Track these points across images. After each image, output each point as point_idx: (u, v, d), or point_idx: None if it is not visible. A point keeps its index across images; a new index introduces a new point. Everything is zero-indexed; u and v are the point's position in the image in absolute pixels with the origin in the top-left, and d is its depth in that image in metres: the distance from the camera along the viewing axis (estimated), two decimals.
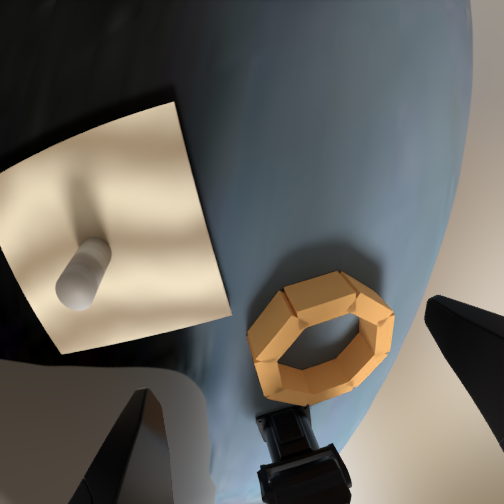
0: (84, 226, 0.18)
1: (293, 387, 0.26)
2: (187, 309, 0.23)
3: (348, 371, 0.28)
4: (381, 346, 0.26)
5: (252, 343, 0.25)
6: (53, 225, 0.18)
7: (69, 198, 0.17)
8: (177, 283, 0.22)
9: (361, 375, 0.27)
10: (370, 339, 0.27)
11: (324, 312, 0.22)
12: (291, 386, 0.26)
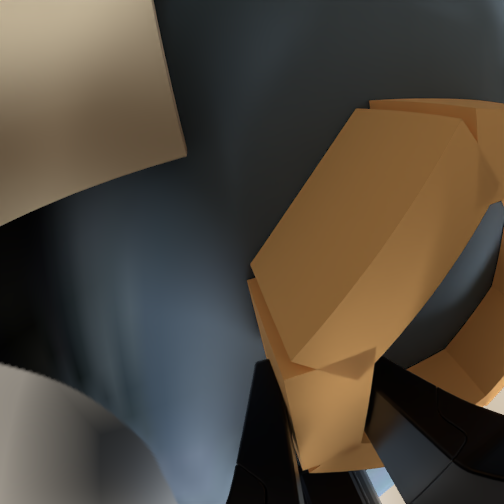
0: None
1: None
2: (20, 132, 0.04)
3: (482, 373, 0.10)
4: None
5: (271, 295, 0.06)
6: None
7: None
8: (5, 34, 0.03)
9: None
10: None
11: None
12: None
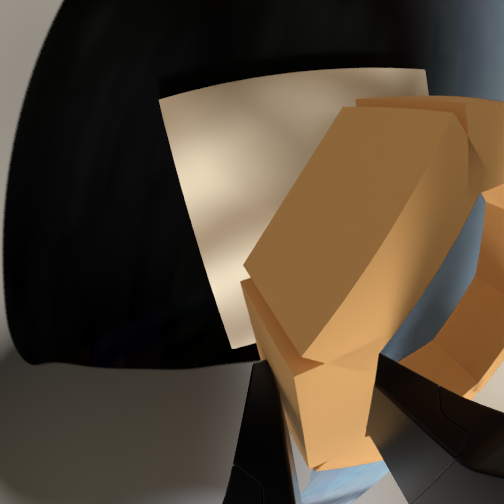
0: None
1: None
2: None
3: (472, 361, 0.10)
4: None
5: (271, 293, 0.06)
6: (288, 169, 0.16)
7: (319, 138, 0.15)
8: None
9: (496, 364, 0.10)
10: None
11: None
12: None
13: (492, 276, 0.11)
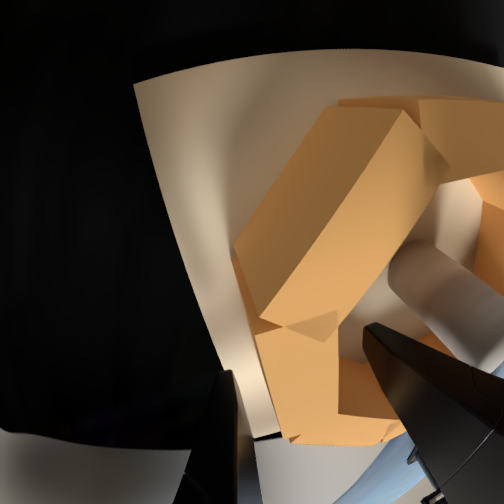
0: None
1: (360, 407, 0.09)
2: None
3: None
4: None
5: (248, 267, 0.07)
6: None
7: None
8: None
9: None
10: None
11: (482, 140, 0.05)
12: (354, 405, 0.09)
13: (488, 275, 0.11)
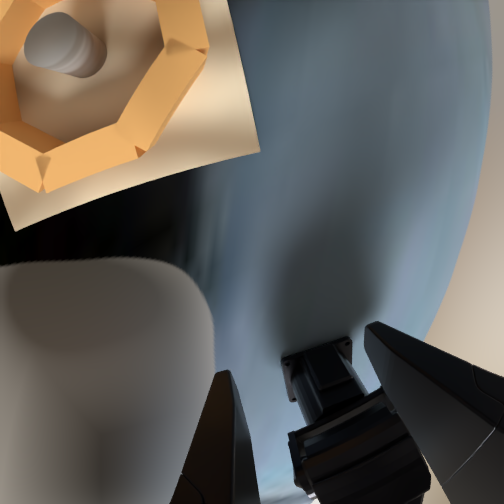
0: None
1: (13, 134, 0.10)
2: (197, 136, 0.15)
3: None
4: (177, 26, 0.10)
5: None
6: None
7: (72, 1, 0.10)
8: (187, 95, 0.14)
9: (147, 109, 0.11)
10: None
11: None
12: (9, 131, 0.10)
13: None
